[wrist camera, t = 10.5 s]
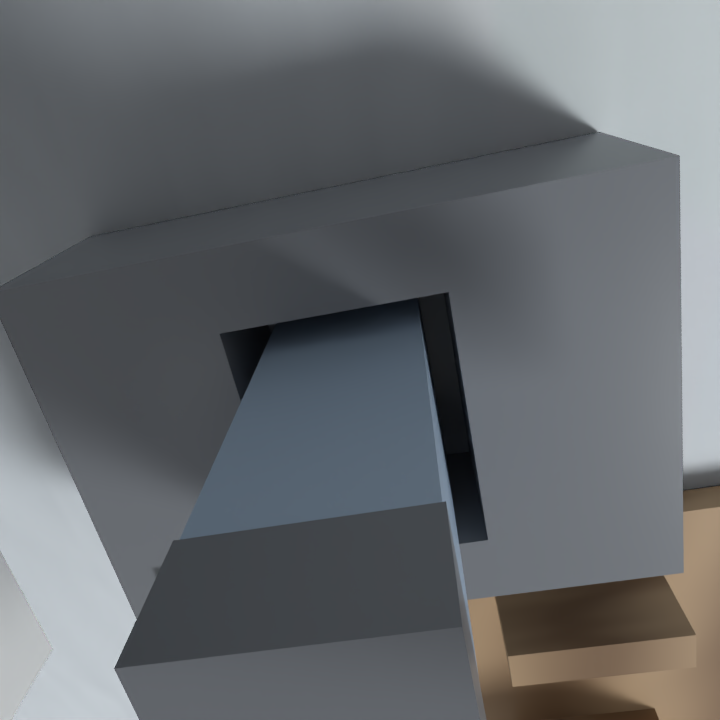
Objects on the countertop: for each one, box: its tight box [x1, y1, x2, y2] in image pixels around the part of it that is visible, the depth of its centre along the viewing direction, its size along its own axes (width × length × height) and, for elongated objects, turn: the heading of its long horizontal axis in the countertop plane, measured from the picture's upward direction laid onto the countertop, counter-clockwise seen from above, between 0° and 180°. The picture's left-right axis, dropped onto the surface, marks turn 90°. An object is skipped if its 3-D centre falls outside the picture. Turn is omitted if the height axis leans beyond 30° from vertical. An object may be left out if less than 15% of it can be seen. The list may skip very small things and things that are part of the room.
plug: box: [114, 298, 486, 720], centre depth 13 cm, size 4×5×12 cm
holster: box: [467, 486, 720, 720], centre depth 21 cm, size 14×11×4 cm
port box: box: [0, 132, 684, 619], centre depth 17 cm, size 14×10×5 cm
